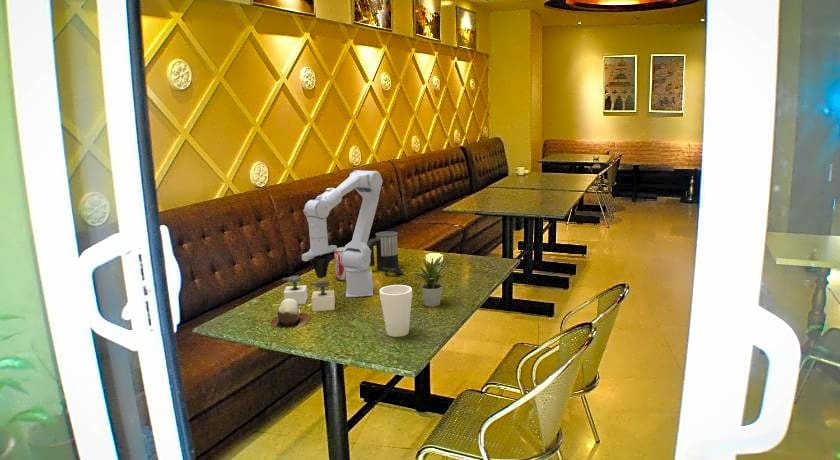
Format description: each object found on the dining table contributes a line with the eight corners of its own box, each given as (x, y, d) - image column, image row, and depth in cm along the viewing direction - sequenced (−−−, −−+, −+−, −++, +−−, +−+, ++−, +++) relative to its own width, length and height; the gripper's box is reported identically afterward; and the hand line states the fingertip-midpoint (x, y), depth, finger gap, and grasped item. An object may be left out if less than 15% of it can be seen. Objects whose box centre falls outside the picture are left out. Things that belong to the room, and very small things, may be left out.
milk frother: (386, 264, 240) (385, 230, 237) (416, 269, 231) (415, 233, 227) (364, 272, 229) (362, 236, 225) (395, 278, 219) (393, 240, 216)
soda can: (350, 281, 217) (348, 251, 215) (333, 281, 219) (331, 250, 216) (356, 276, 224) (354, 246, 221) (339, 275, 225) (337, 246, 223)
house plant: (422, 293, 199) (421, 248, 196) (459, 298, 193) (458, 251, 190) (404, 307, 187) (401, 258, 183) (442, 312, 180) (441, 262, 177)
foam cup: (381, 327, 169) (379, 285, 167) (412, 325, 170) (410, 283, 168) (382, 340, 160) (379, 296, 158) (414, 337, 161) (413, 293, 158)
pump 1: (302, 287, 198) (301, 275, 197) (301, 291, 194) (300, 279, 193) (284, 289, 197) (282, 276, 197) (282, 293, 193) (281, 280, 192)
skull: (272, 312, 183) (291, 289, 182) (297, 332, 184) (317, 309, 183) (262, 325, 171) (283, 300, 170) (289, 346, 173) (310, 321, 171)
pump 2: (330, 293, 191) (329, 280, 190) (329, 297, 187) (328, 284, 186) (311, 294, 191) (310, 281, 190) (309, 298, 186) (308, 285, 185)
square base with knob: (307, 297, 200) (306, 285, 199) (305, 304, 193) (304, 291, 192) (287, 298, 199) (286, 286, 199) (284, 305, 193) (283, 292, 192)
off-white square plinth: (335, 302, 193) (334, 290, 192) (334, 309, 186) (333, 296, 185) (314, 304, 193) (313, 291, 192) (312, 311, 186) (311, 298, 185)
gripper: (324, 231, 193) (327, 270, 195) (293, 240, 181) (297, 281, 184) (340, 233, 189) (343, 272, 192) (309, 242, 177) (313, 284, 180)
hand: (321, 277), depth 187 cm, fingers closed
